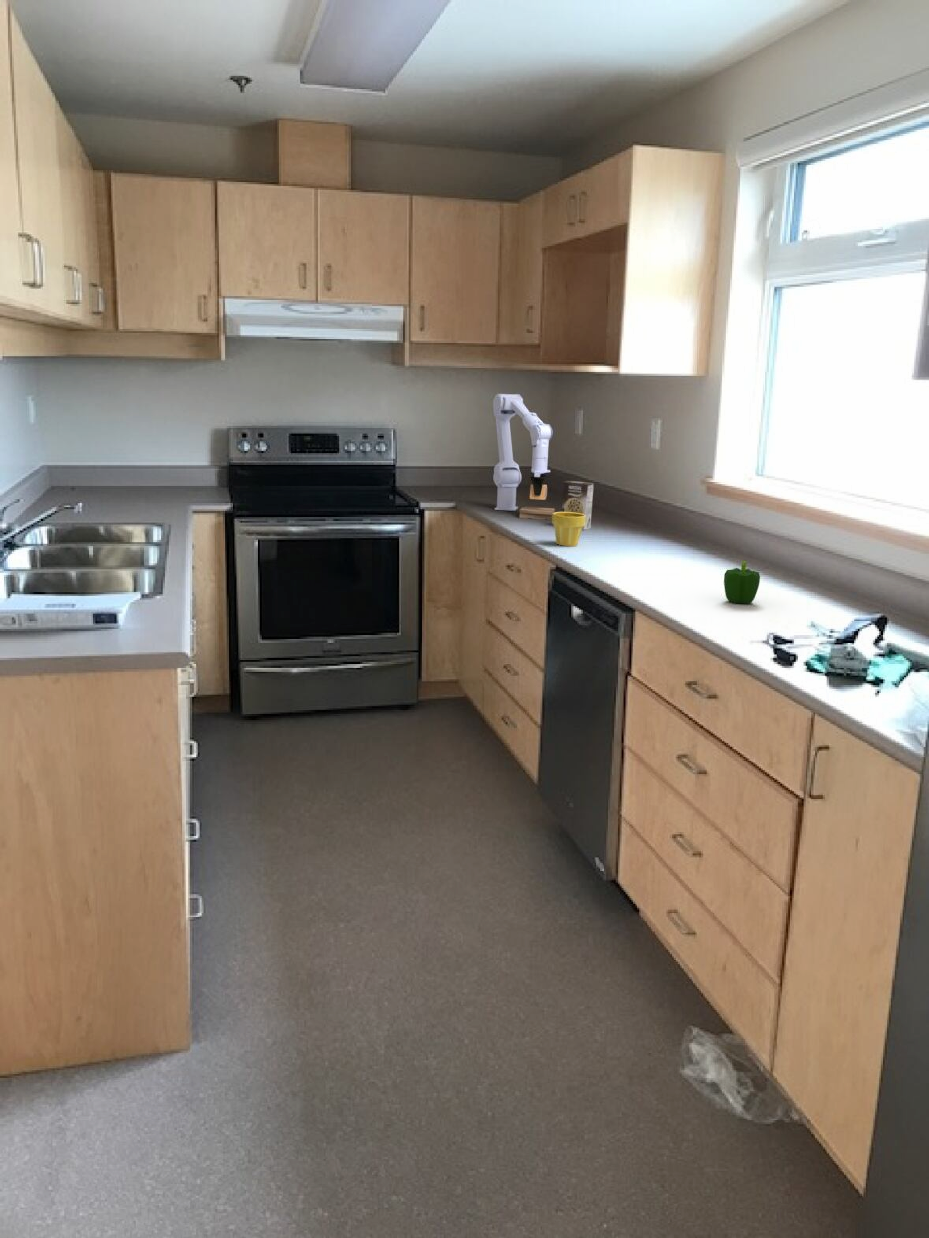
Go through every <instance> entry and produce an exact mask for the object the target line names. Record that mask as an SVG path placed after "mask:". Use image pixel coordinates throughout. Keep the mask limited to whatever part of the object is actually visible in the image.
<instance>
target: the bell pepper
mask: <svg viewBox="0 0 929 1238" xmlns="http://www.w3.org/2000/svg"><path fill="white" fill-rule="evenodd" d="M723 575H724V576H723V577H724V578H723V586H724V595H725V597H726V599H727V601H728V602H731V603H733V604H747V605H748V604H752V603H753V602H754V600H755V599H756V595H757V593H758V590H759V586H760V582H761V581H760V580H761V575H760V572H759V571H755V570H752V569H750V568H747V561H746V560H743V561H742V563H741V569H740V568H738V567H735V568H733V569H727V570H726V571H725V573H724V574H723Z"/></svg>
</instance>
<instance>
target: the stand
mask: <svg viewBox="0 0 929 1238" xmlns="http://www.w3.org/2000/svg"><path fill="white" fill-rule="evenodd" d="M555 511H556V508H553V507H552V508H551V507H537V506H522V507H521V508H520V509H519V519H528V518H532V519H531V520H545V519H547V521H549V520H550V521H552V517H553V513H555Z"/></svg>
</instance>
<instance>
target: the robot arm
mask: <svg viewBox="0 0 929 1238" xmlns="http://www.w3.org/2000/svg"><path fill="white" fill-rule="evenodd" d="M492 407H493V417H494V418H495V425H496V426H495V427H496V435H497V447H498V448H497V449H498V456H499V457H498V458H499V462H498V463H497V464H496V465H495V466H494V468H493V477H492V478H493V482H494V485H496V487H497V495H496V496H497V497H496V506H495V508H494V510H495V511H510V512H513V511H516V510H518V508H519V506H516V504H517V500H516V499H517V488H518V487H519V485H520V483H521V482H522V473H521V470H520V466H519V465H520V464H518V463H517V462H516V461H514V455H513V444H512V435H511V434H512V433H511V423H510V420H511V418H513V417H515V415H518V416H519V417H520V418H521V419H522V424H523V425H524V427H525V428H526V429H527V430H528V431H529V434H530V435H529V436H530V438H531V445H532V457H531V458H532V459H531V469H530V472H531V473H533V474H532V475H530V480H531V482H532V484H533V489H534V495H535V496H540V495H541V491H542V486H543V485H545V484H546V483H545V482H546V480H547V479H548V474H547V473H551V469H548V461H549V460H548V459H549V443H550V440H551V439H552V438H553V433H554V432H553V428H552V426H551V424H548V423H544V422H543V421H542V420H541V419H540V418H539V416H538V414H537V413H536V412H530V410H529V409H528V408H527V407H526V405H525V404H524V399H523V397H522V396H521V394H519V393H515V394H514V393H513V394H511V393H510V394H509V393H496V394H495V396H494V399H493V400H492Z"/></svg>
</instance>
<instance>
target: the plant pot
mask: <svg viewBox="0 0 929 1238" xmlns="http://www.w3.org/2000/svg"><path fill="white" fill-rule="evenodd" d="M551 522H552V525H553V526H554V534H555V541H556V545H557V544H559V545H558V546H560V545H565V546H564V547H576V545H577V546H578V544H579V541H580V536H581V533H582V531H583V530H582V527H583V526H584V525H585V515H584V514H581V513H575V512H562V511H556V512H555V511H554V513H553V517H552V520H551Z"/></svg>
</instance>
